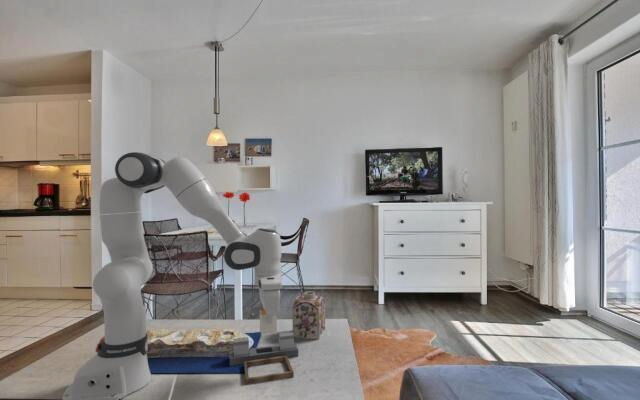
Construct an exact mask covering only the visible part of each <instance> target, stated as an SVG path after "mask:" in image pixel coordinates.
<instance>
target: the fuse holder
mask: <svg viewBox="0 0 640 400" xmlns="http://www.w3.org/2000/svg"><path fill="white" fill-rule="evenodd" d="M280 356H287V358H288V359H291V358H298V357H299V348H298V346H297V344H296V342H294V349H288V350H279V344H276V345H269V346H260V347H252V348H249V355H243V356H235V357H234V350H230V351H229V367H233V366H234V367H235V366H240V365H244V362H245V361H252V360H259V359H266V358H273V357H280Z"/></svg>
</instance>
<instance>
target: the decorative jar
mask: <svg viewBox="0 0 640 400" xmlns="http://www.w3.org/2000/svg"><path fill="white" fill-rule="evenodd" d="M324 331H326V301H325V299H324V297H323V296H321V295H318V294H316V292H314V291H305V292H304V293H303V294H301V295H298V296H296V297H295V299H294V302H293V305H292V332H293V334H294V338H297V339H298V338H300V339H308V340H309V339H311V340H320V338H321V337H322V335H323V334H324Z"/></svg>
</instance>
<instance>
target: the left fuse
mask: <svg viewBox="0 0 640 400" xmlns="http://www.w3.org/2000/svg"><path fill="white" fill-rule="evenodd" d="M249 347H250V340H249V337H240V338H233V351H234V357H235V356H243V355H249V349H250V348H249Z"/></svg>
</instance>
